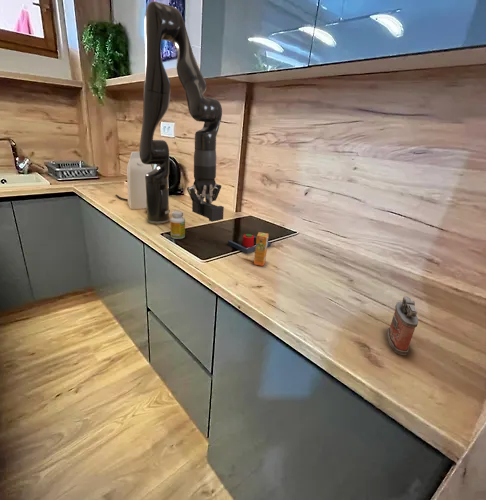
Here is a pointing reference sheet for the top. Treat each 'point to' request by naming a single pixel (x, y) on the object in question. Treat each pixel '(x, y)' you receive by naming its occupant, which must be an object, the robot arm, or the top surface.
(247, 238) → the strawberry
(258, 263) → the supplement box
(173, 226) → the supplement bottle
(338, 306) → the top surface
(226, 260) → the top surface
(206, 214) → the matte black brick
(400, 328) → the lighter
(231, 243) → the frame
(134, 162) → the milk
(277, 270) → the top surface
